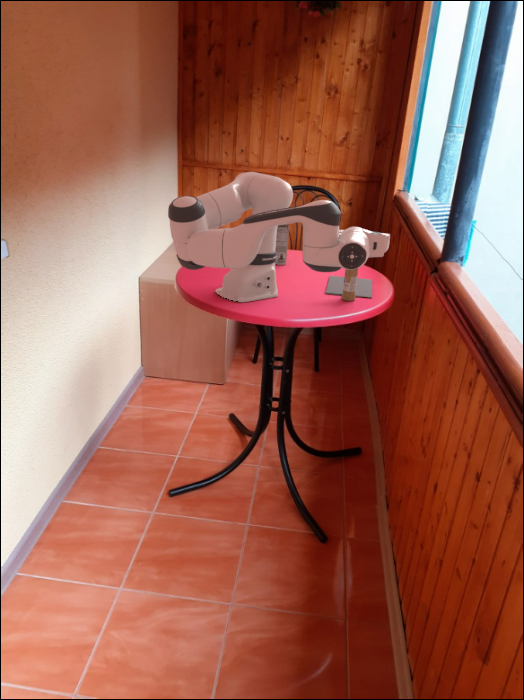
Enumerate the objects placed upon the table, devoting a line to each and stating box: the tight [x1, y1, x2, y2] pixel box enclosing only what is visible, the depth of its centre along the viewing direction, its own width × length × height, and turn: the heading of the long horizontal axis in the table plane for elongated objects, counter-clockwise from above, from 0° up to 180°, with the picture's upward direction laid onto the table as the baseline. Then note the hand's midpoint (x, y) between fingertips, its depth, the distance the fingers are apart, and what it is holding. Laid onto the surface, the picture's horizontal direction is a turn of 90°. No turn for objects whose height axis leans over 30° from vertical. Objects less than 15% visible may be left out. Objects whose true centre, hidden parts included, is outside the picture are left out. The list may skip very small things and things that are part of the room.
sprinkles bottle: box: [341, 268, 359, 302], centre depth 191 cm, size 5×5×14 cm
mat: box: [325, 275, 373, 299], centre depth 206 cm, size 22×16×1 cm
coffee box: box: [275, 224, 289, 266], centre depth 231 cm, size 9×6×16 cm
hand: (355, 233), depth 172 cm, fingers open, 5 cm apart
